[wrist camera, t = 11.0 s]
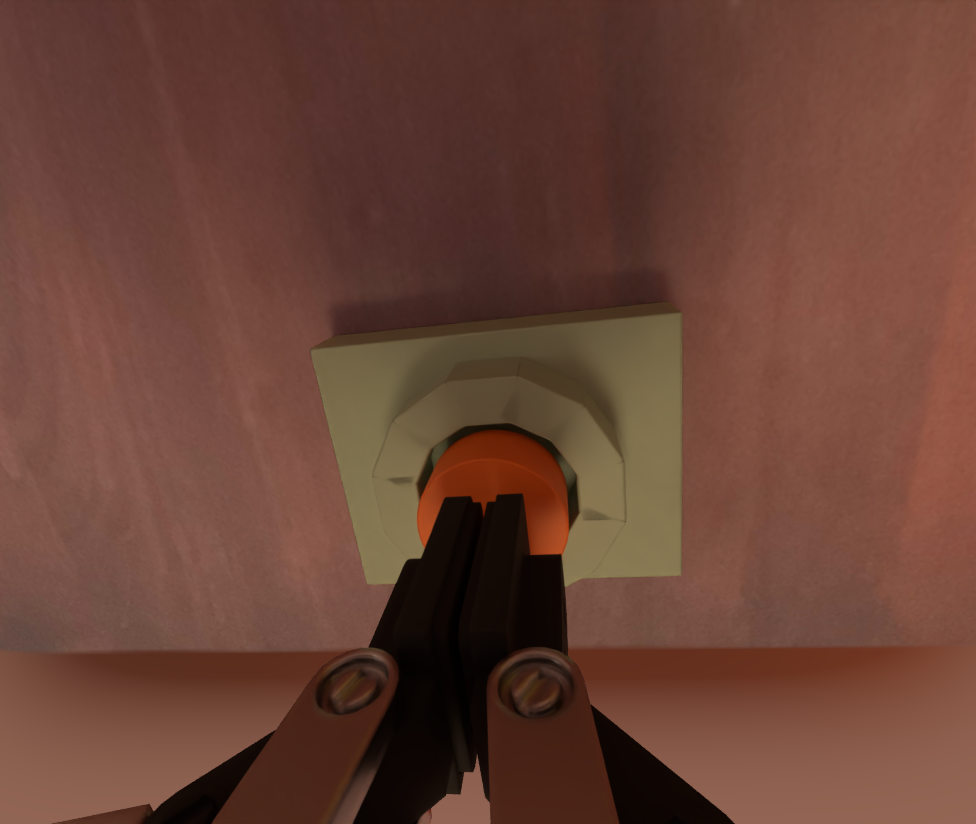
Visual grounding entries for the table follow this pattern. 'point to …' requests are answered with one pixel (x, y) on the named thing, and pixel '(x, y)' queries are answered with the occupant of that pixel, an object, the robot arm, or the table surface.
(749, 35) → the table surface
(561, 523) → the button
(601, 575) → the control block
